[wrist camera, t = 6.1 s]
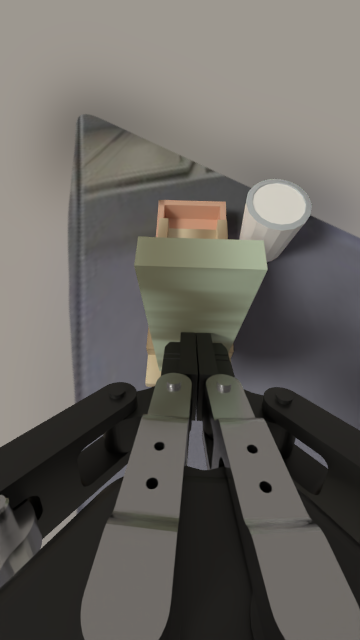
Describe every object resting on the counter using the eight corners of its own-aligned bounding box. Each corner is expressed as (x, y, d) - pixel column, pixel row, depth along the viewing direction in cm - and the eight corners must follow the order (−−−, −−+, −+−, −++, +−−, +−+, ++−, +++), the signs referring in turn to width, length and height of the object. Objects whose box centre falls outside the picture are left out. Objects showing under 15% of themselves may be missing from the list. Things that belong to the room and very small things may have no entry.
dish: (222, 218, 36) (225, 201, 34) (223, 287, 33) (227, 275, 30) (160, 217, 37) (159, 200, 34) (155, 285, 33) (153, 272, 30)
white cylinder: (258, 213, 37) (275, 168, 30) (298, 244, 35) (326, 204, 28) (222, 242, 35) (232, 201, 29) (263, 276, 33) (283, 241, 27)
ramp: (223, 237, 26) (258, 63, 15) (229, 389, 20) (301, 295, 8) (161, 235, 26) (146, 61, 15) (147, 386, 20) (101, 288, 8)
